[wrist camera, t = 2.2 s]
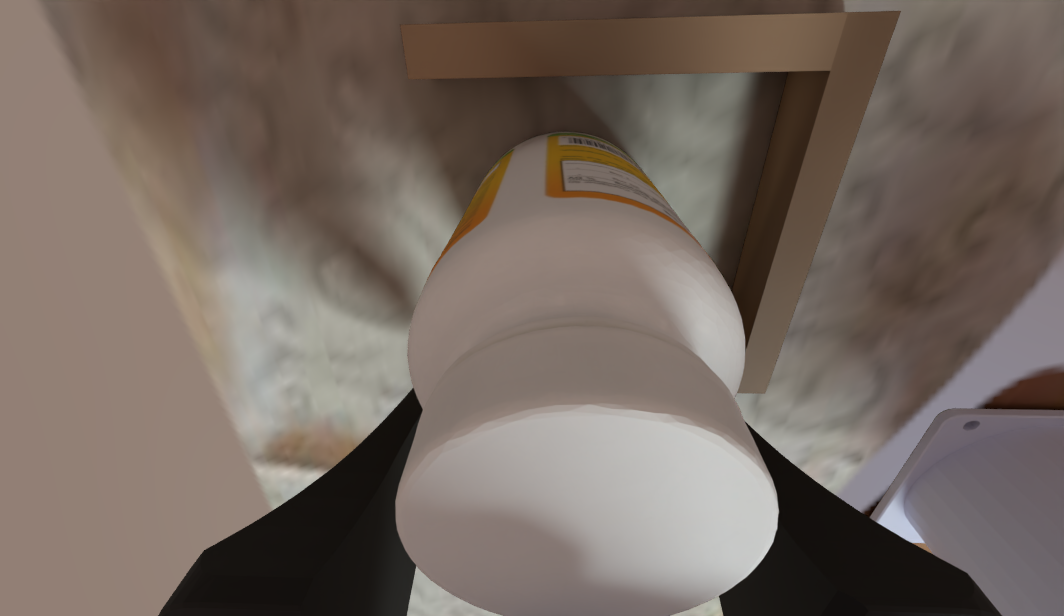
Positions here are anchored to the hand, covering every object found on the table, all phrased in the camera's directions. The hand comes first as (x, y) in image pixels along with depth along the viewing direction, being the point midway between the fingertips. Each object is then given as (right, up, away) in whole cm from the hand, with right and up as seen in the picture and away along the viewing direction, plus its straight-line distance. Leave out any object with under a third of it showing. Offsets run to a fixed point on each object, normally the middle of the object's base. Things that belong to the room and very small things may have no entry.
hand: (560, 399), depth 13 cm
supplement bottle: (0, +5, 0) cm, 5 cm away
